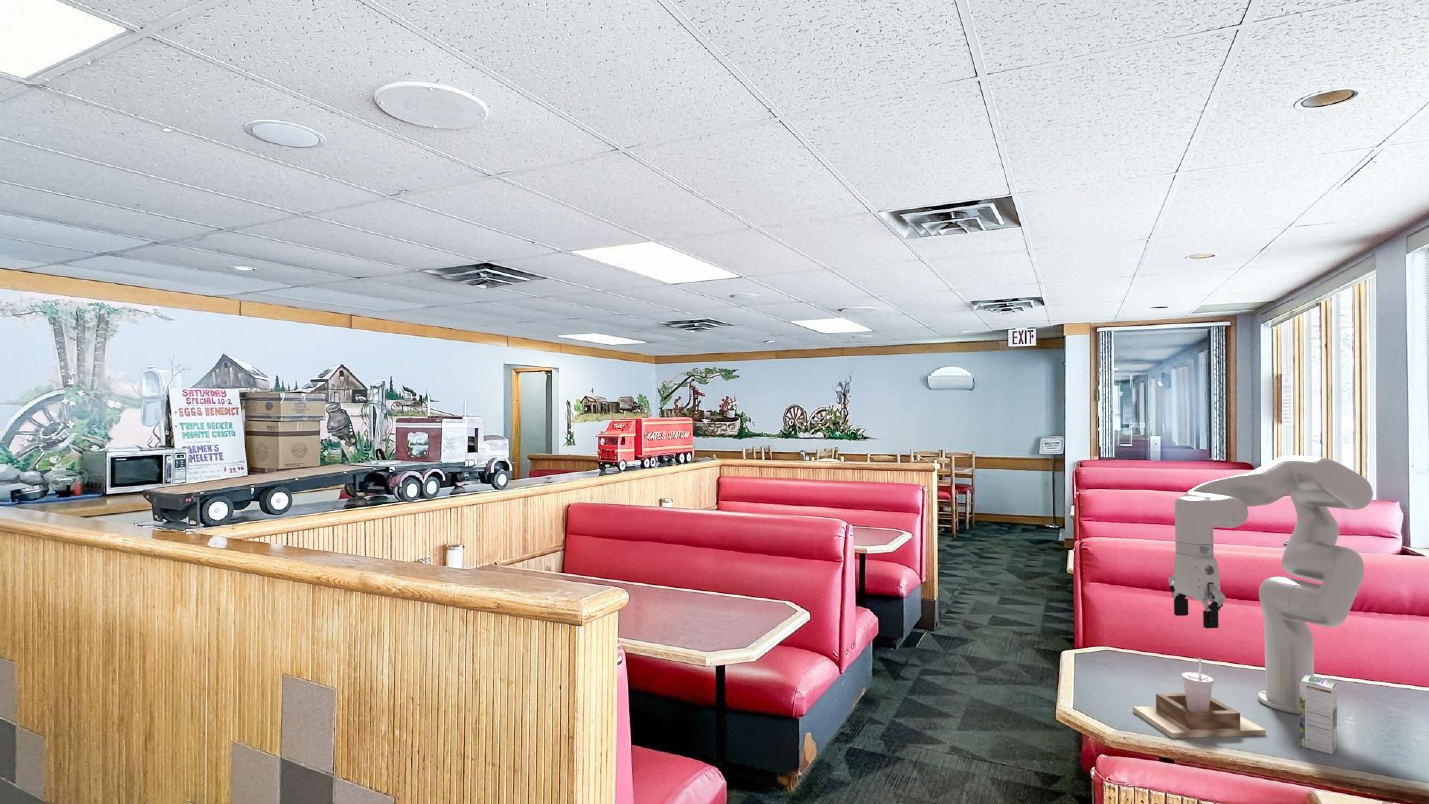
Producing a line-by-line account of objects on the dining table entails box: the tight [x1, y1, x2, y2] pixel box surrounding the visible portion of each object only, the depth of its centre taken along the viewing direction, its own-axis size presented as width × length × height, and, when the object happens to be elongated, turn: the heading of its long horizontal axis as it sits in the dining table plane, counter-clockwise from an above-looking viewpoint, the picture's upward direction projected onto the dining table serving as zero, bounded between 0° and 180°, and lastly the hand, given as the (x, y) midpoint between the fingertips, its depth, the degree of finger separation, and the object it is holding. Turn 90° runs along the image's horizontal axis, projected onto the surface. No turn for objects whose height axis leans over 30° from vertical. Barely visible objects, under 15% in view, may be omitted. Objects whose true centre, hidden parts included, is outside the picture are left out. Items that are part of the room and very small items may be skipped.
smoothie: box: [1180, 657, 1214, 712], centre depth 169 cm, size 6×6×14 cm
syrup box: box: [1299, 675, 1338, 755], centre depth 156 cm, size 6×6×14 cm
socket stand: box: [1132, 692, 1267, 739], centre depth 168 cm, size 22×14×5 cm, turn 93°
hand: (1195, 621), depth 169 cm, fingers open, 9 cm apart
